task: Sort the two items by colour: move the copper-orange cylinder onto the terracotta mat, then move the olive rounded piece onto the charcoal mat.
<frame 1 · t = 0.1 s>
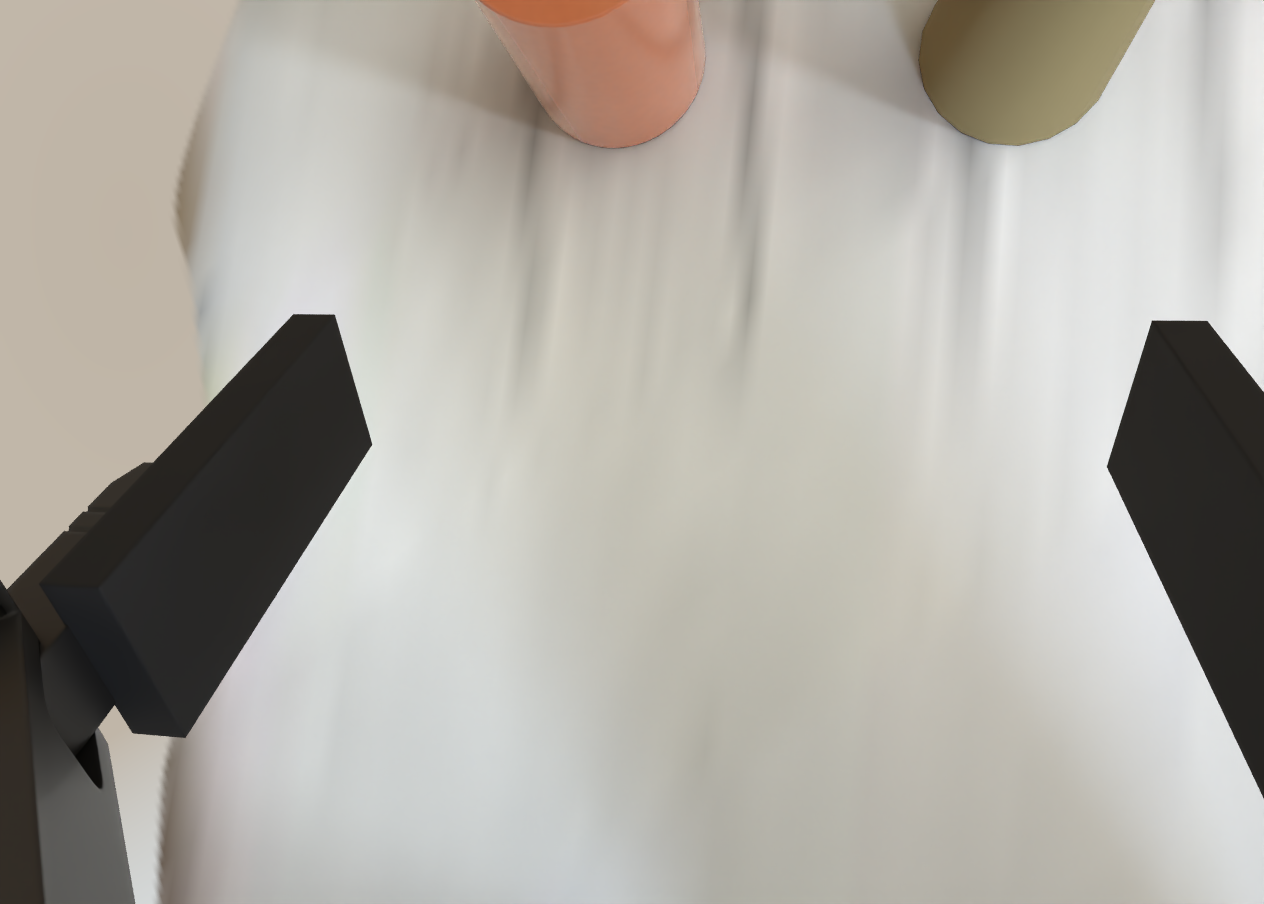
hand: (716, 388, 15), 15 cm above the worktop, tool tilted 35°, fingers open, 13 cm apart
olive rounded piece: (1013, 54, 29), on the worktop
copper-orange cylinder: (618, 61, 31), on the worktop
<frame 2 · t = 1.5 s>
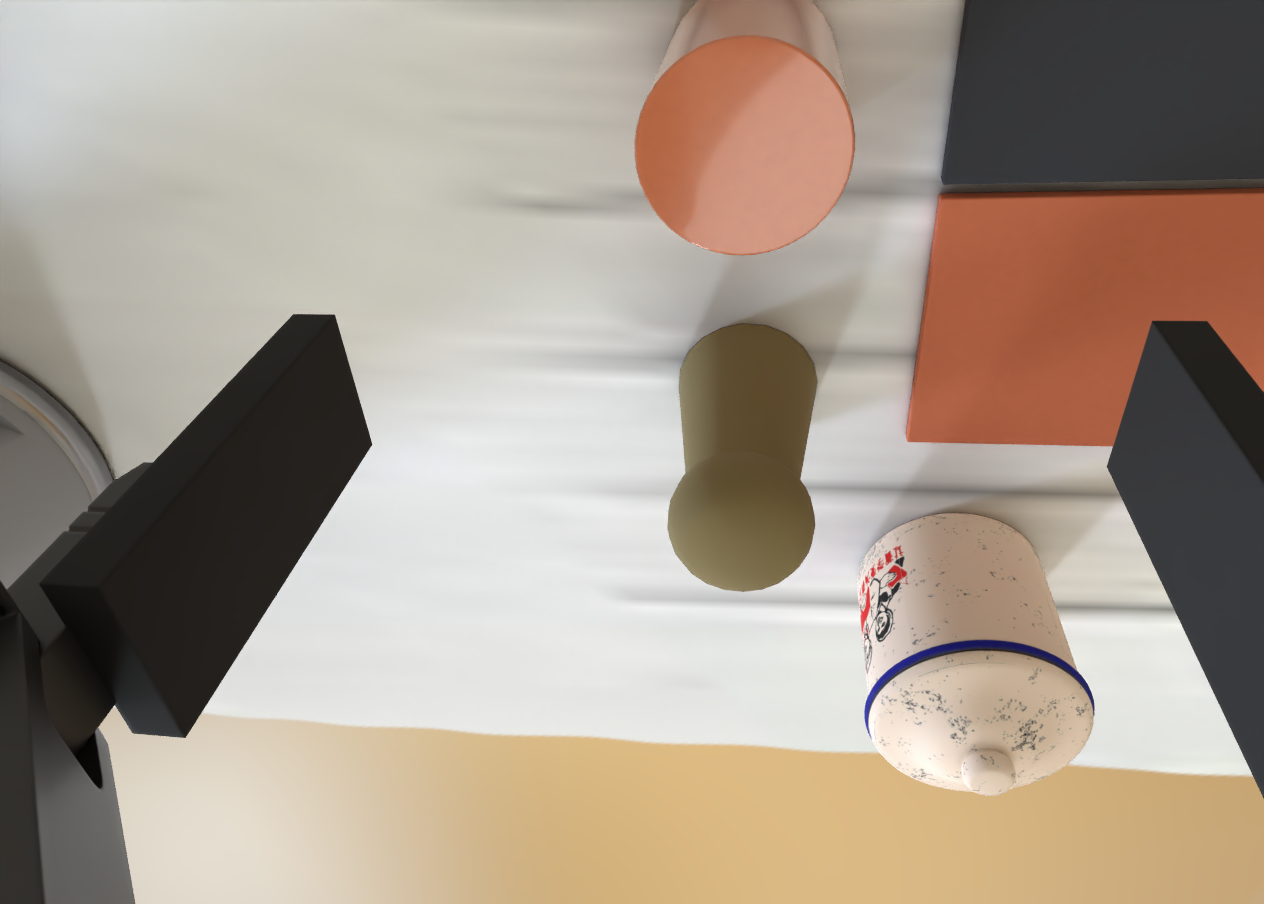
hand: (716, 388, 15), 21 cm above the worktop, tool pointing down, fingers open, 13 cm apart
charcoal mat: (1189, 6, 29), on the worktop
olive rounded piece: (747, 382, 39), on the worktop
copper-orange cylinder: (750, 72, 32), on the worktop
terracotta mat: (1103, 325, 35), on the worktop
teacup with lid: (942, 593, 45), on the worktop
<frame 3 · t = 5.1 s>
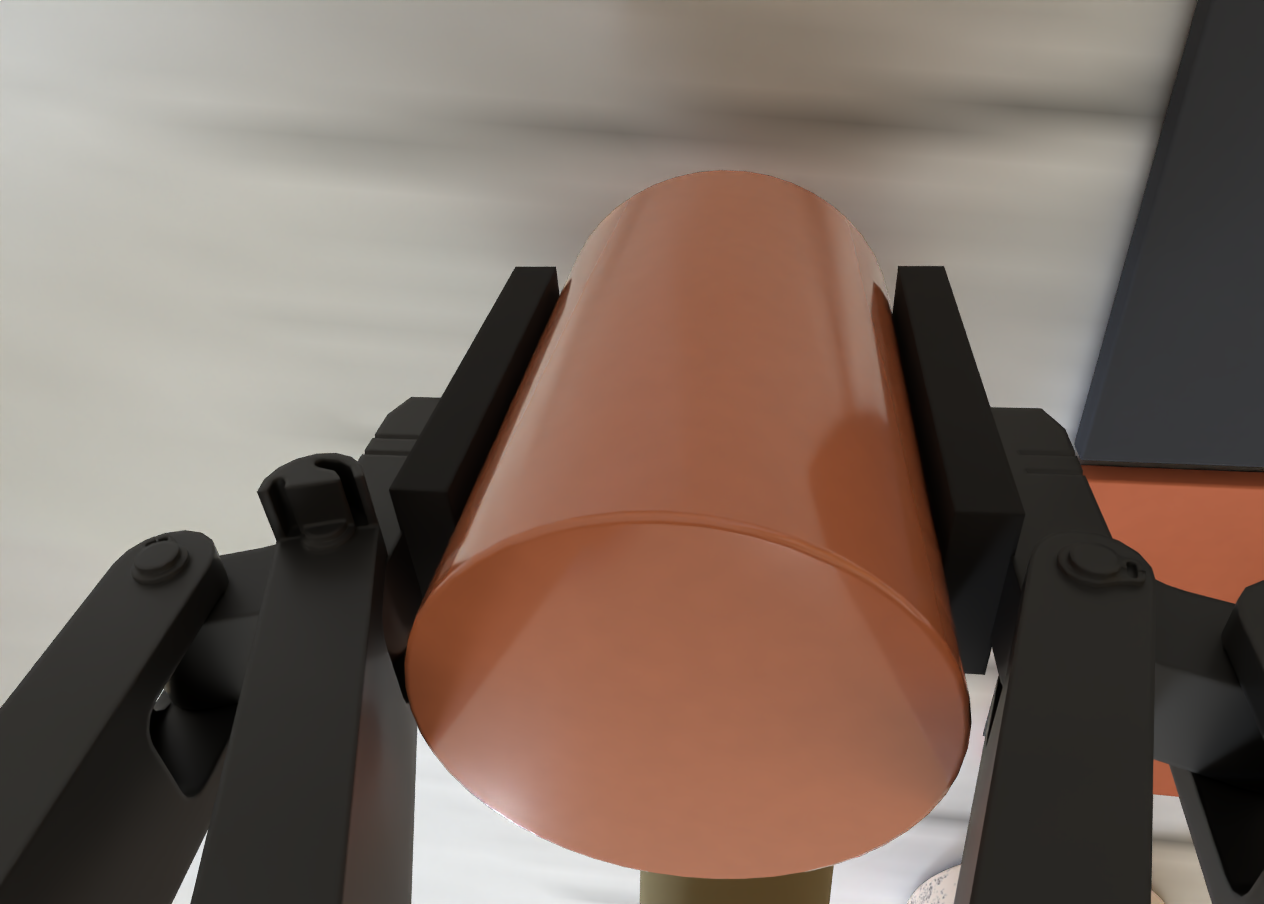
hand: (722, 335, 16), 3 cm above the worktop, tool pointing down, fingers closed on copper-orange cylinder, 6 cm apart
olive rounded piece: (746, 681, 26), on the worktop
copper-orange cylinder: (723, 327, 17), point 2 cm above the worktop, touching gripper
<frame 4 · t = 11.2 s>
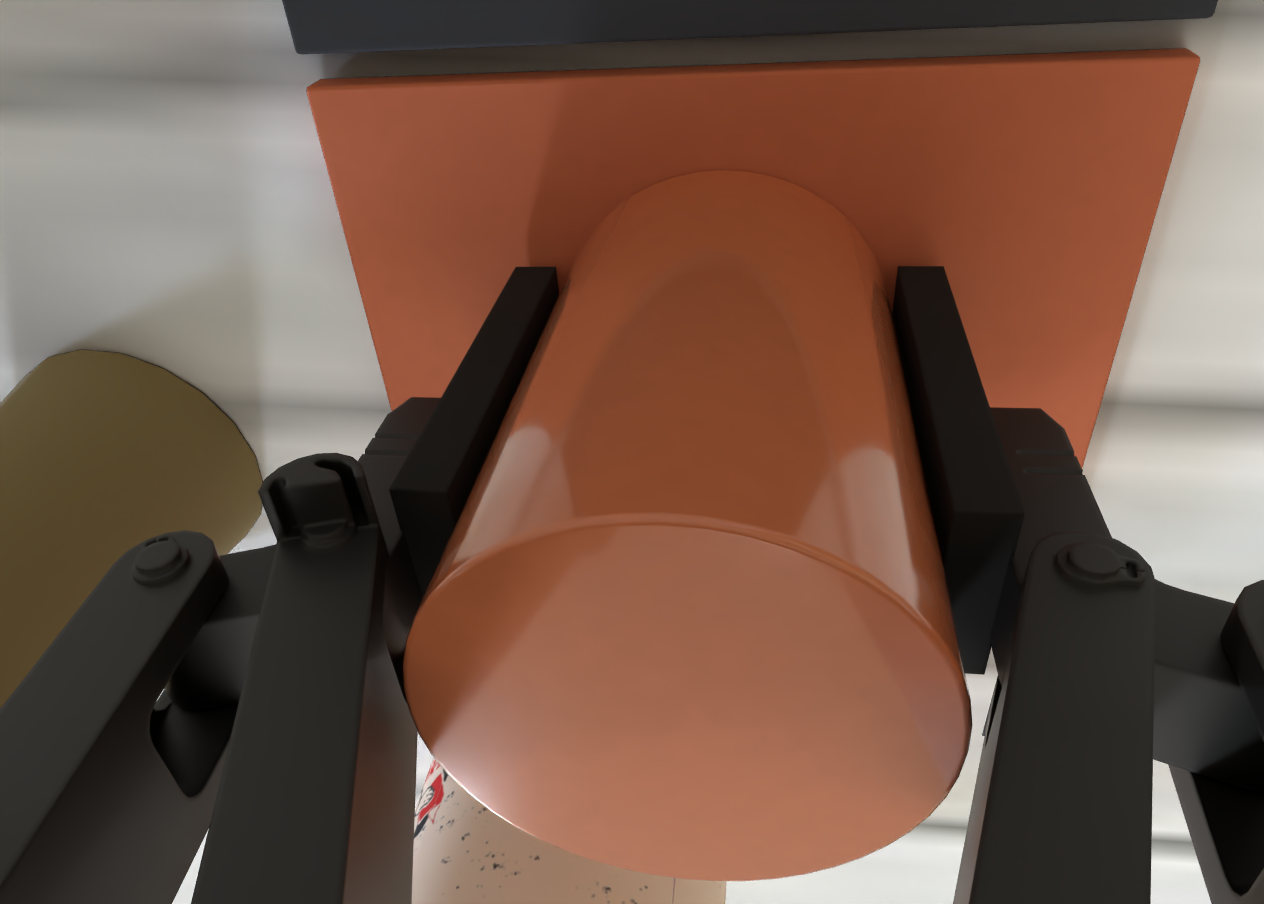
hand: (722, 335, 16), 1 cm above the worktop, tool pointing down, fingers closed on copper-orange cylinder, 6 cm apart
olive rounded piece: (146, 454, 22), on the worktop
copper-orange cylinder: (722, 328, 17), point 1 cm above the worktop, touching gripper
terracotta mat: (723, 358, 18), on the worktop
teacup with lid: (593, 787, 27), on the worktop
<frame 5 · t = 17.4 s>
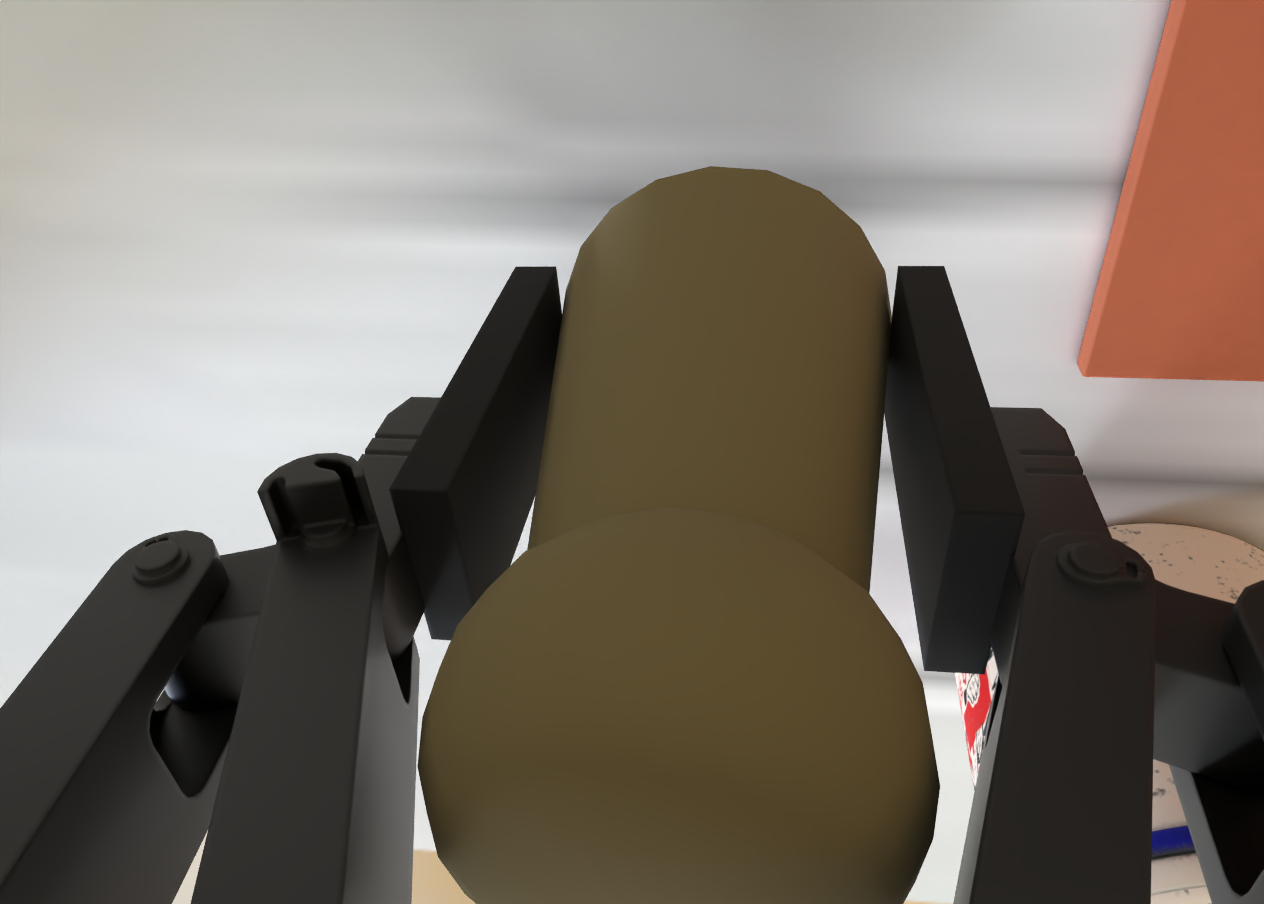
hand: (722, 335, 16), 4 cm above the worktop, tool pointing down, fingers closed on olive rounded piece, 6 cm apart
olive rounded piece: (724, 322, 17), point 3 cm above the worktop, touching gripper
teacup with lid: (1105, 667, 25), on the worktop
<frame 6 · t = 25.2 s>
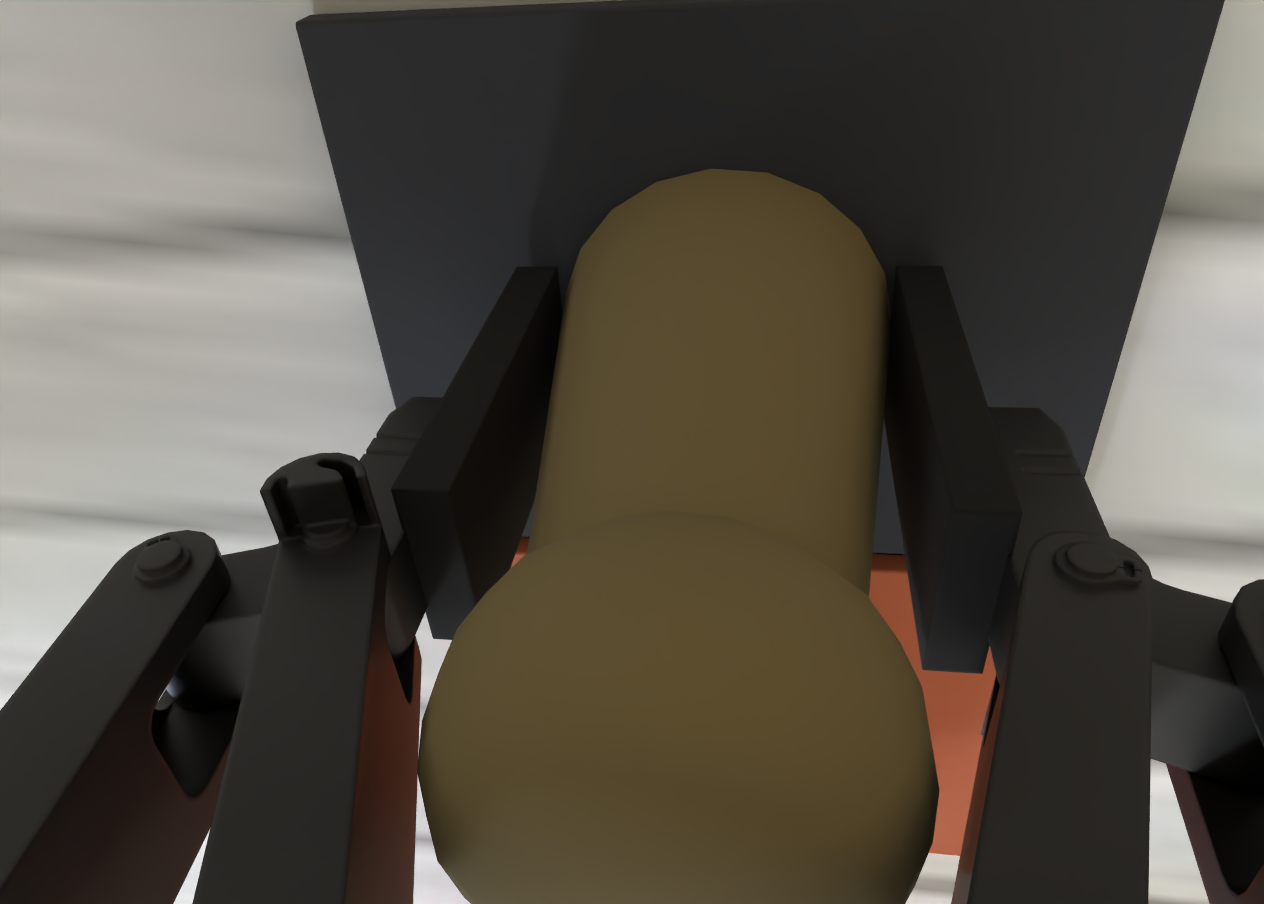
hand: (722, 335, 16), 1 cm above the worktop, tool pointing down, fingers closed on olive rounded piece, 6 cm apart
charcoal mat: (728, 312, 17), on the worktop
olive rounded piece: (724, 323, 17), resting on charcoal mat, touching gripper
terracotta mat: (729, 699, 24), on the worktop
when the fingers open (1 cm above the worktop, at t = 29.3 s): olive rounded piece stays where it is, resting on charcoal mat.
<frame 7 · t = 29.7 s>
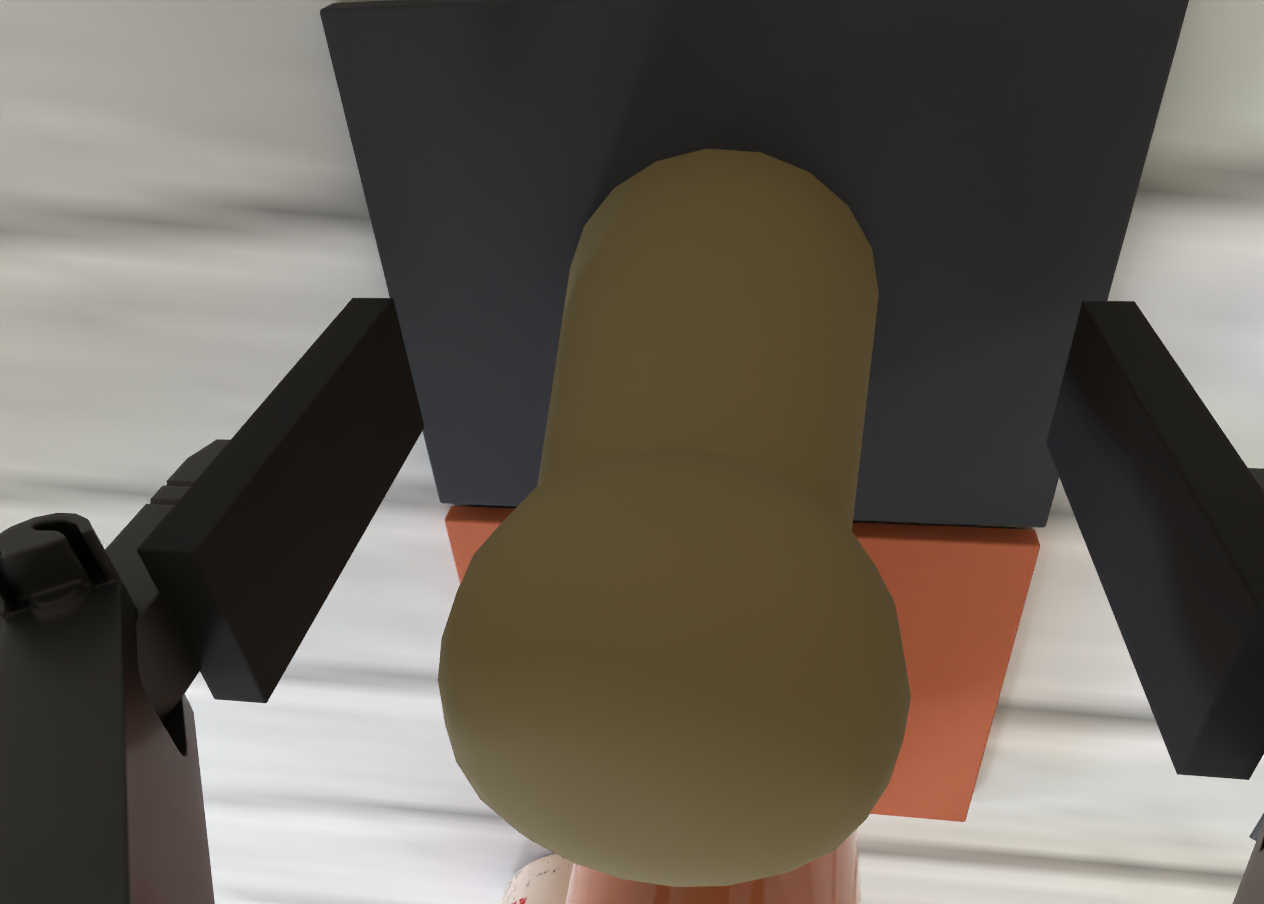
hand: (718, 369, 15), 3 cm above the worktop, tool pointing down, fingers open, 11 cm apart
charcoal mat: (728, 287, 18), on the worktop
olive rounded piece: (720, 298, 18), resting on charcoal mat
copper-orange cylinder: (729, 660, 24), point 1 cm above the worktop, touching terracotta mat
terracotta mat: (729, 667, 25), on the worktop
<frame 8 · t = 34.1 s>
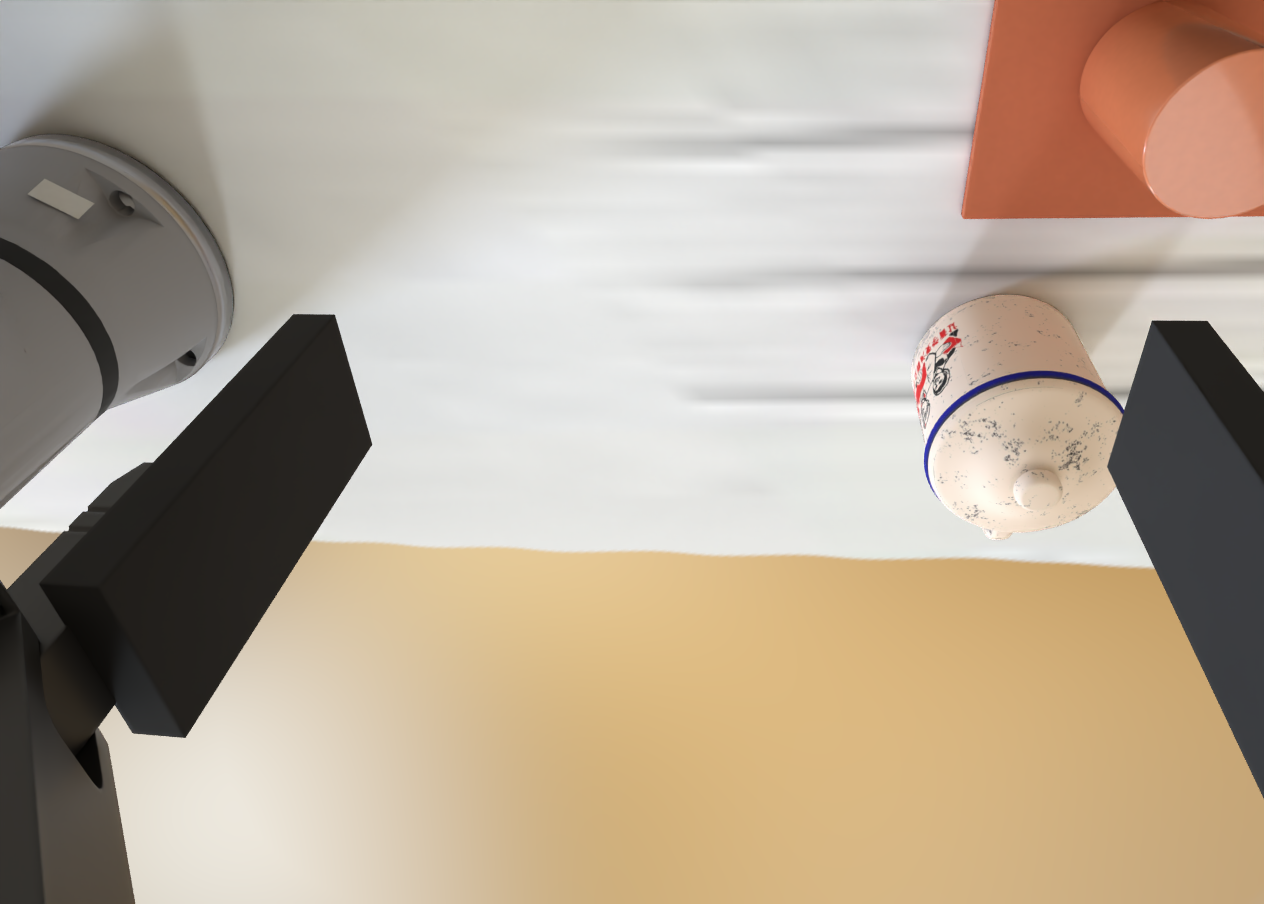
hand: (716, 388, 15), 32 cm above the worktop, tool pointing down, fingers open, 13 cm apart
copper-orange cylinder: (1153, 74, 39), point 1 cm above the worktop, touching terracotta mat
terracotta mat: (1142, 95, 40), on the worktop
teacup with lid: (988, 383, 50), on the worktop
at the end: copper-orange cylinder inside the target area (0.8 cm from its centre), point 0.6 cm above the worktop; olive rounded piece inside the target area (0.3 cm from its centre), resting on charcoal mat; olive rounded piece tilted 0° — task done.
